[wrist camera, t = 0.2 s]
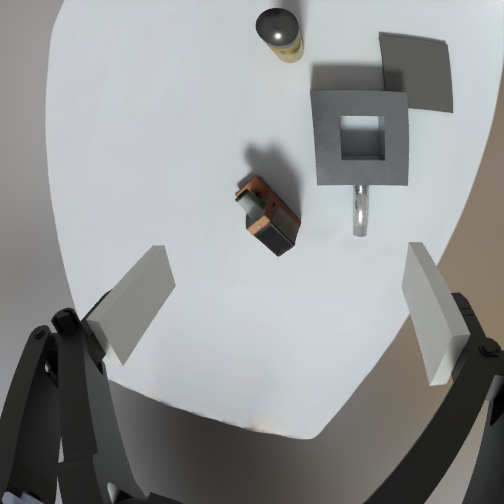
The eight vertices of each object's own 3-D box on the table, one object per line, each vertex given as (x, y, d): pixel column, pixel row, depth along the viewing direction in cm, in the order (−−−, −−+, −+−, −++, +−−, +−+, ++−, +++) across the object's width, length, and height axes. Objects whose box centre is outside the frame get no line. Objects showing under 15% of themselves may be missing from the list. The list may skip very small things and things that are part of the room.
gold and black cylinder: (274, 39, 31) (253, 10, 19) (301, 37, 30) (295, 6, 18) (277, 63, 33) (258, 45, 21) (305, 61, 32) (300, 41, 20)
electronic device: (257, 172, 41) (246, 188, 34) (303, 221, 43) (300, 245, 37) (236, 191, 43) (221, 211, 36) (280, 238, 45) (274, 264, 39)
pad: (378, 36, 28) (379, 35, 27) (445, 45, 25) (447, 44, 25) (386, 106, 32) (387, 106, 32) (451, 112, 30) (453, 112, 30)
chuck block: (310, 91, 34) (309, 90, 31) (399, 93, 31) (406, 92, 28) (319, 231, 43) (319, 241, 40) (397, 230, 40) (402, 241, 37)
